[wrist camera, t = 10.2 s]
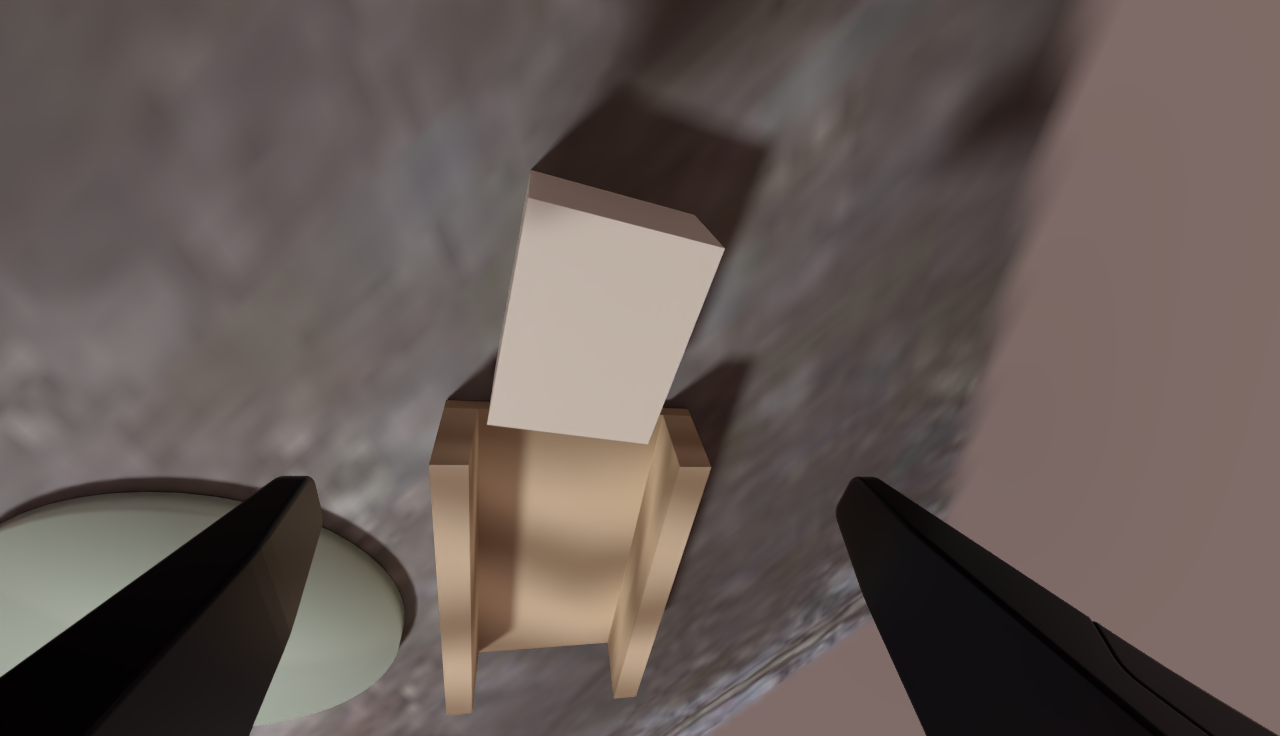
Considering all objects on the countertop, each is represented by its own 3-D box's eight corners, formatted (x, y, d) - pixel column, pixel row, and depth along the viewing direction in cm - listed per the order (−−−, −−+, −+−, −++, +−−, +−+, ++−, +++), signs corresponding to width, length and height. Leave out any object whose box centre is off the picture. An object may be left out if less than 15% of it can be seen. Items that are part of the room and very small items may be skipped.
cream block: (530, 167, 13) (528, 197, 10) (692, 212, 14) (725, 248, 11) (495, 363, 15) (487, 424, 13) (632, 385, 17) (647, 444, 14)
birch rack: (446, 399, 16) (428, 465, 13) (688, 408, 17) (711, 467, 15) (456, 645, 23) (446, 715, 20) (626, 632, 25) (635, 696, 22)
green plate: (-153, 492, 14) (-187, 514, 13) (388, 490, 17) (382, 508, 16) (63, 724, 21) (47, 746, 20) (415, 692, 24) (412, 710, 24)
